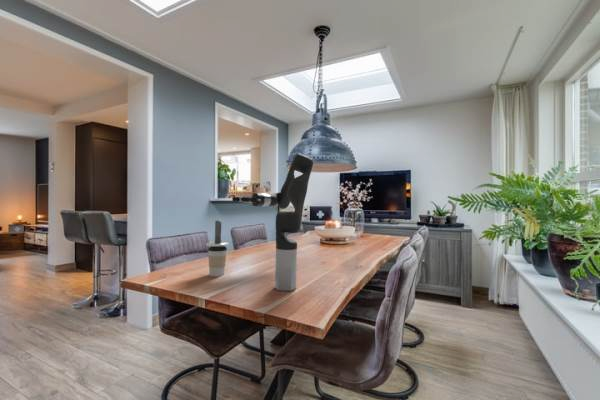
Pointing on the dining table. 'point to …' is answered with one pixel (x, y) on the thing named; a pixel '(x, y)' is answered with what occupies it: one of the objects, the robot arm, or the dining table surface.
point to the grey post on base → (217, 236)
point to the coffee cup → (217, 260)
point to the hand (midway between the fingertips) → (237, 199)
